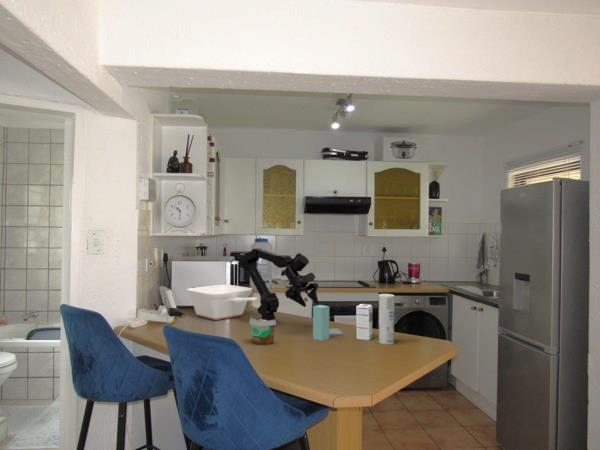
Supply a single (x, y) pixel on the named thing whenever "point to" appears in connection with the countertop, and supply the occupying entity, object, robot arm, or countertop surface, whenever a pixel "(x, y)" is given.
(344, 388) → the countertop surface
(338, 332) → the coaster
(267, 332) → the food container
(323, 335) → the block
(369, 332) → the syrup box
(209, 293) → the pot
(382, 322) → the spray can
